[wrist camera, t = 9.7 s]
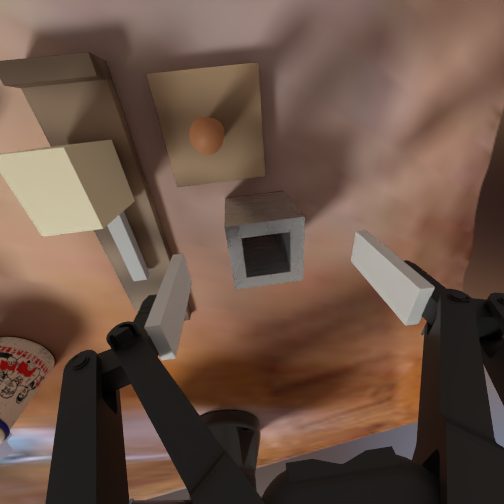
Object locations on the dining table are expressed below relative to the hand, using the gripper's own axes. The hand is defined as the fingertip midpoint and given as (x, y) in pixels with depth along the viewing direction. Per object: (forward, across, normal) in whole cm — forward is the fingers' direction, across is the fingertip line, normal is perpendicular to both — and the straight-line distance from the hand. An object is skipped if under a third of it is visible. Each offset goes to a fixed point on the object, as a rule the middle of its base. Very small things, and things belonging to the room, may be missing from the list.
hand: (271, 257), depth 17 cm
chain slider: (+6, +13, -2) cm, 15 cm away
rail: (+8, +13, 0) cm, 15 cm away
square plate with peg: (+8, +3, -8) cm, 12 cm away
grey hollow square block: (+8, 0, 0) cm, 8 cm away
